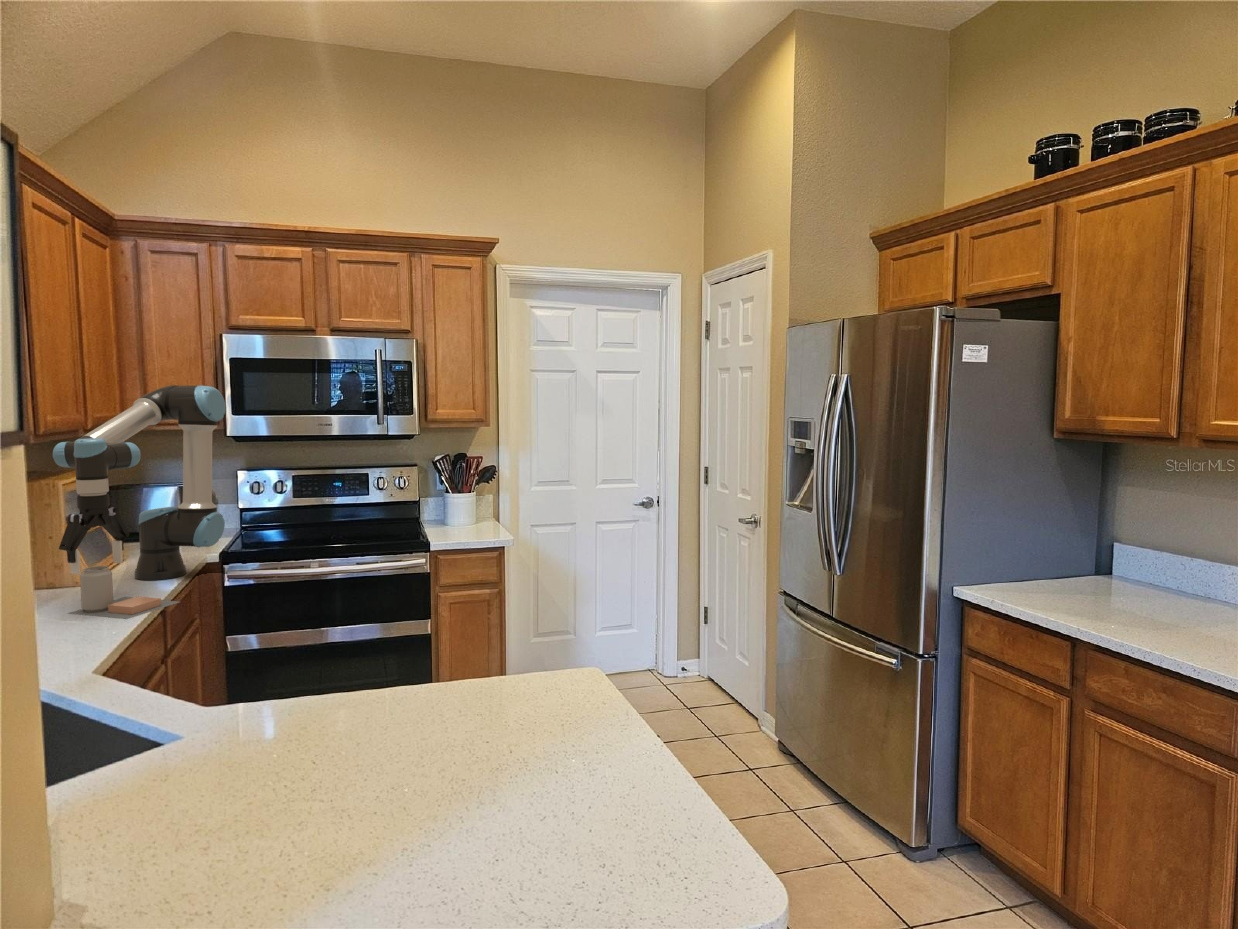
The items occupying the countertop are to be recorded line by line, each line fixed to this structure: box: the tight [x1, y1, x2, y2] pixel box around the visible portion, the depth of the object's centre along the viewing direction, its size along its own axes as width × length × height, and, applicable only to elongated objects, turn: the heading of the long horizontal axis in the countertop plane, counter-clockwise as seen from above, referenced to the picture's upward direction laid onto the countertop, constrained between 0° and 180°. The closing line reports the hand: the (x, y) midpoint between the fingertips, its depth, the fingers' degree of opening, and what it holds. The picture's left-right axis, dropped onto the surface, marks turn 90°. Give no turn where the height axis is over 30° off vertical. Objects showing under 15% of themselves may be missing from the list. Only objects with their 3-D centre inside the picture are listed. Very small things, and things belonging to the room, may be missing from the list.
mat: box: [66, 596, 180, 620], centre depth 222 cm, size 19×20×1 cm
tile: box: [108, 595, 162, 615], centre depth 220 cm, size 2×8×10 cm
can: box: [79, 565, 114, 612], centre depth 219 cm, size 8×8×12 cm
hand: (97, 568), depth 219 cm, fingers open, 13 cm apart
